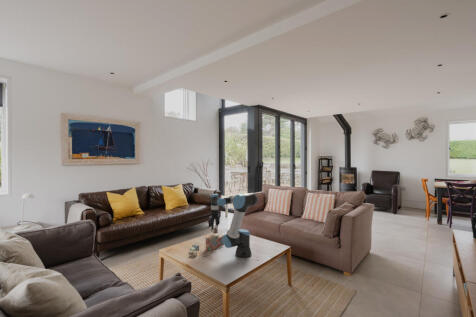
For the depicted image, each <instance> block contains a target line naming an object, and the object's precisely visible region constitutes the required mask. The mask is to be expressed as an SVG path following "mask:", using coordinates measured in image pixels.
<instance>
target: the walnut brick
mask: <svg viewBox="0 0 476 317" xmlns="http://www.w3.org/2000/svg"><path fill="white" fill-rule="evenodd" d="M210 229H211V228H210ZM218 232H219V229H218V228H217V229H216V228H215V227H214V233H213V234H218ZM210 233H212V229H211V230H210Z"/></svg>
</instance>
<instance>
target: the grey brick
mask: <svg viewBox="0 0 476 317" xmlns="http://www.w3.org/2000/svg"><path fill="white" fill-rule="evenodd" d="M191 247H194V248H195V249H196V251H199V250H200V245H199V244H195V243H194V244H192V245H191Z"/></svg>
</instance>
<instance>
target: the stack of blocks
mask: <svg viewBox="0 0 476 317" xmlns="http://www.w3.org/2000/svg"><path fill="white" fill-rule="evenodd" d="M224 235H225V234H224ZM224 235H223V234H217V233H213V234H210V235H208V236H206V237H205V250H207V251H212V250H215V249H217V248H219V247H221V246H223V245H224V243H223V236H224Z"/></svg>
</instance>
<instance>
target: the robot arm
mask: <svg viewBox="0 0 476 317" xmlns="http://www.w3.org/2000/svg"><path fill="white" fill-rule="evenodd" d="M258 202H259V197H258V196H257V195H256V194H255V193H254V192H247V193H239V194H236V195H229V196H221V197H220V196H219V193H211V195H210V214H211V215H210V216H208V220H209V226H210V227H211V228H210V229H212V232H211V233H213V234H215V233H214V228H216V229H218V228H219V225H220V222H221V221H220V220H221V218H220V217H221V214H220V213H219V206H220V207H224V206H226V205H230V204H231V205H232V206H233V208H234V211H233V216H232V220H231V222H230V227H229V229H228V230H227V231H226V234H224V236H223V243H224V244H223V245H224V247H225V248H226V249H231V248H234V247H236V249H235V256H236V257H237V258H240V259H245V258H246V259H247V258H250V257H251V256H252V254H253V253H252V249H251V246H250V242H251V241H250V240H251V239H250V238H251V235H250V234H251V233H250V230H248V229H244V228H241V227H242V223H243V219H244V216H245V214H246V212H248V209H249V208H251V207H255V206H256V205H257V204H258ZM214 224H215V225H214Z"/></svg>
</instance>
